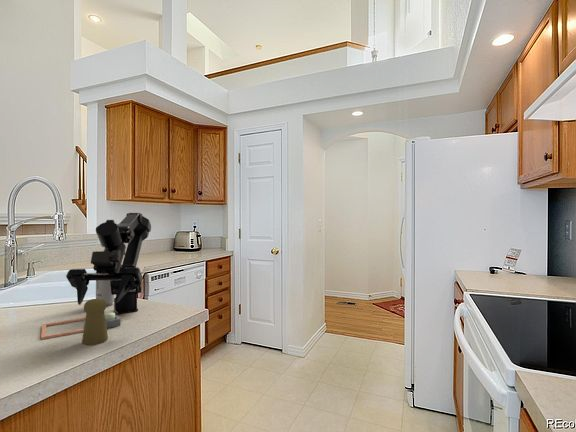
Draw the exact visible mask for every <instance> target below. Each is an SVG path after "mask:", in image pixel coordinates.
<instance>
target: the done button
mask: <svg viewBox="0 0 576 432" xmlns="http://www.w3.org/2000/svg"><path fill="white" fill-rule="evenodd" d="M115 315H116V312H107V313H105V320H106V321H108V320H114V319H115Z"/></svg>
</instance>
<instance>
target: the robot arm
mask: <svg viewBox="0 0 576 432" xmlns="http://www.w3.org/2000/svg"><path fill="white" fill-rule="evenodd" d="M151 230H152V224H151V222H150V220H149V218H147V217H145V216H143V213H141V212H128V213H126V216H125V217H124V218H123V219H122V220H121V221H120V222H119V223H115V219H106V221H105V222H102V223H100V224H99V225H98V226H96V228H95V233H96V235H97V238H98V240H99V241H98V242H99V243H100V246H101V247H102V248H104V249H103V251H92V253H91V259H90V264H91V265H93V267H92V268H93V271H95V272H87V271H86V268H72V269H69V270H68V271H67V273H66V275H65V277H66V279H67V281H68V282H69V284H70V285H71V287H72V288H75V289H76V293H77V294H76V297H77V299H76V300H77V304H78V305H79V306H81V304H82V303H83V301H84V298H85V296H86V294H87V291H88V289H89V288H88V286H89V285H90V284H89V283H90V281H91V282H92V281H96V280H104V281H110V280H111V281H110V286H111V294H112V295H114V296H115V297H114V302H113V310H114V312H115V313H116V314H117V315H119V314H124V313H131V312H137V311H139V308H138V294H140V293H142V282H143V275H142V272H141V269H140V268H139V267H137V265H138V262H139V261H138V260H139V255H140V253H141V248H142V245H143V241H144V240H146V239H147V238H148V237H149V234H150V233H151ZM126 244H127V245H126Z"/></svg>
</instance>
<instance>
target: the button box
mask: <svg viewBox="0 0 576 432" xmlns="http://www.w3.org/2000/svg"><path fill="white" fill-rule="evenodd" d="M120 326H121V318H120V316H119V314H117V315H116V314H115V319H114V320H108V321H106V327H107V329H109V328H117V327H120Z"/></svg>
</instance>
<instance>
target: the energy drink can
mask: <svg viewBox="0 0 576 432" xmlns="http://www.w3.org/2000/svg"><path fill="white" fill-rule="evenodd" d="M110 281H111V280H110ZM110 281H104V280H95V299H104V300H105V301H106V303H107V306H106V307H109V306H112V305H114V298H115V295H112V294H111V286H110Z"/></svg>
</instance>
